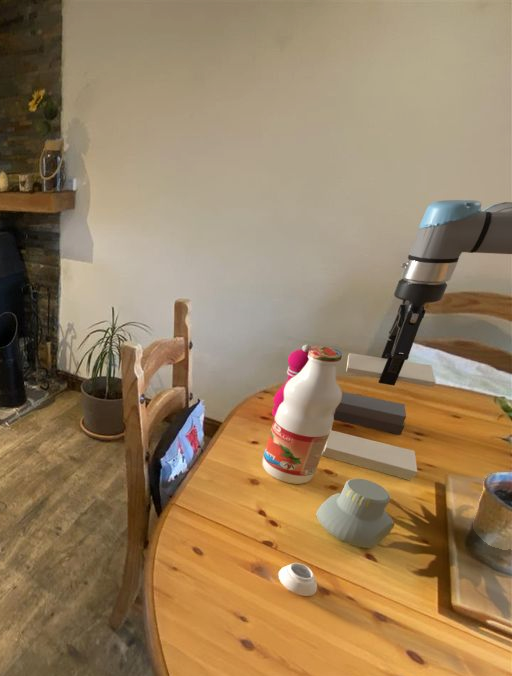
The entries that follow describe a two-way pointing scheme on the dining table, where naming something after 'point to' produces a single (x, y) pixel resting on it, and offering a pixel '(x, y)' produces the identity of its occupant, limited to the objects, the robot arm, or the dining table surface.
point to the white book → (376, 365)
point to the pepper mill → (292, 372)
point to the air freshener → (357, 514)
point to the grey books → (371, 413)
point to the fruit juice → (304, 419)
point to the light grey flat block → (371, 455)
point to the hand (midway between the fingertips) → (385, 374)
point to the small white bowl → (298, 579)
